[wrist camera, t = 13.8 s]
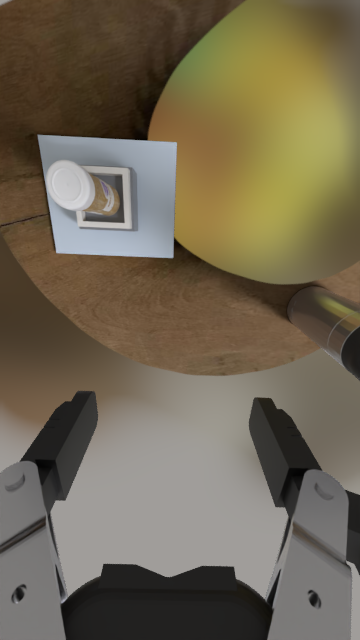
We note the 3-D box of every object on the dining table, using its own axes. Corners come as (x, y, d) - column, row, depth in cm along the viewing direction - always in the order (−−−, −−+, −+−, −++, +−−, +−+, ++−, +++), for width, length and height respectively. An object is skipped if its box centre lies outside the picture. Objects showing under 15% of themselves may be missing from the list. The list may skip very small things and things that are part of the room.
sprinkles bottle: (126, 205, 36) (98, 192, 23) (104, 221, 37) (66, 218, 24) (107, 176, 34) (67, 147, 22) (85, 195, 35) (34, 177, 23)
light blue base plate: (176, 144, 37) (176, 128, 31) (173, 257, 43) (172, 262, 38) (40, 136, 36) (13, 119, 30) (58, 252, 43) (39, 256, 37)
